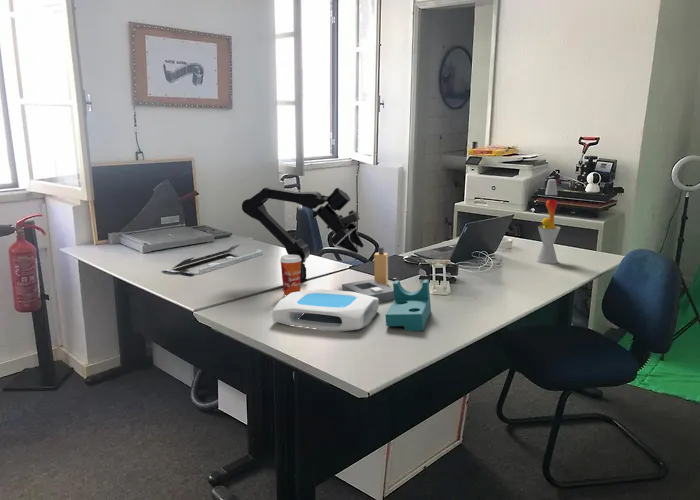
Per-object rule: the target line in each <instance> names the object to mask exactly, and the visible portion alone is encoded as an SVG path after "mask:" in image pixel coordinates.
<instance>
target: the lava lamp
mask: <svg viewBox="0 0 700 500" xmlns="http://www.w3.org/2000/svg"><path fill="white" fill-rule="evenodd" d="M544 195H545V196H558V186H557V180H556V179H554V178H553V179H552V178H551V179H550V178H549V179H548V180H547V184H546V188H545V194H544ZM545 202H546V203H545V206H546V208H547V211H548V217H543V219H542V220H541V225H538V226H537V228H538V229H537V230H538V232H539V236H540V239H541V243H542V245H541V248H540V251H539V252H538V255H537V258H536V260H535V261H536V262H537V263H539V264H545V265H554V264H558V259H557V253H556V250H555V245H554V244H555V242H556V239H557V236H558V235H559V232H560V230H561V226H560V225H559V226H558V225H555V212H556V209H557V205H558V203H557V201H556V200H555V199H553V198H552V199H551V198H549V199H548V200H546V201H545Z"/></svg>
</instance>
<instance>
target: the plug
mask: <svg viewBox="0 0 700 500" xmlns="http://www.w3.org/2000/svg"><path fill="white" fill-rule="evenodd" d="M384 250H385V249H384V247H383V246H379V247H378V252H375V253H374V256H373V260H374V265H373V267H374V268H373V269H374V270H373V271H374V276H373V277H374V279H373V280H375V281H377V282H379V283H382V284H384V285H386V286H388V284H389V253H388V252H384Z"/></svg>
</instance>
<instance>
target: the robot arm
mask: <svg viewBox="0 0 700 500" xmlns="http://www.w3.org/2000/svg"><path fill="white" fill-rule="evenodd" d="M270 199H271V200H276V201H277V200H278V201H283V202H284V201H285V202H288V203H294V204H298V205H300V206H302V207H304V208H307V209H310V210H312V219H313V220H314V219H317V217H318V218H320V220H322V222H323V223H324V224H325V225H326V229H327V230H329V229H330V231H332V232H333V233H334V235H333V236H332V237H331V243H332V244H333V245H334V246H337V247H340V248H342V249H346V250H348V251H350V252H352V253H355V254H357V253H358V252H359V249H358V248H357V247H360V248H363V247H364V246H365V245H364V243H363V241H362V240H361V238H360V236H359V233H358V228H359V227H358V226H359V225H358V224H357V223H356V222H358V221H359V220H360V217H359V215H360V214H359V213H358V212H357V211H355V210H354V209H352V210H350V211H349V212H348V214H347V215H345V216H343V215H342V214H338V213H337V212H336V211H342V209H344V207H345V206H346V205H347V204H348V203H349V202H350V201H351V197H350V196H349V194H347V193H346V192H344V190H342V189H340V188H339V187H336V188H334V190H333V191H332V193H330V195H329V196H328V195H323V194H321V192H319V191H304V192H303V191H293V190H287V189H282V188H277V187H276V188H275V187H271V186H267V187H266V186H265V187H263V188H262V189H261V190H260V191H259V192H258V193H256V194H255V195H253V196H252V197H250V198H247V199H245V200H243V201H242V203H241V210H242V211H243V213H244V214H246V216H249V217H250V218H251V219H254V220H257V221H258V222H259V223H260V224H261V225H262V226H264V228H265V229H267V230H268V232H269V233H271V235H272V236H274V238H275V239H276V240H278V241H279V243H280V244H281V245H282V246H284V248H285V251H286V253H287V255H299V256H300V257H301V259H302V260H301V274H300V282H305V281H308V278H307V267H306V263H305V262H306V260H307V259H308V258H309V256H310V253H311V251H310V248H309V245H308V244H307V243H305V242H304V240H303V239H302V238H298V239H295V238H294V237H293V236H292V235H290V233H288V231H286V229H284V228H283V227H282V226H281V224H280V223H278V221H276V220H275V219H274V218H273V216H272V215H270V213H269V212H268V211H267V208H266V206H265V203H267V201H269V200H270ZM324 204H325V205H324ZM316 208H318V209H316ZM313 209H316V210H313ZM267 230H266V231H267ZM356 246H357V247H356Z"/></svg>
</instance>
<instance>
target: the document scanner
mask: <svg viewBox="0 0 700 500" xmlns="http://www.w3.org/2000/svg"><path fill="white" fill-rule="evenodd" d="M378 311H379V302H378V298H376V297H372V296H368V295H364V294H360V293H356V292H350V291H342V290H335V289H324V288H320V289H317V288H316V289H311V290H300V291H299V292H292V293H290V294H289V295H287V296H284V297H283V298H281V299H280V300H279V301H278V302H277V304H276V305H275V306H274V308H273V309H272V320H273V322H276V323H279V324H283V325H285V324H286V325H285V326H288V325H294V326H302V327H309V328H316V329H315V330H317V329H322V330H321V331H326V330H329V331H328V332H335V333H338V332H339V333H341V332H342V333H343V332H348V331H349V332H350V331H356V330H360V329H363V328H366V327H367V326H368V325H369V324H370V323H371V322H372V320H373V319H374V318H375V316H376V314H377V312H378ZM303 313H305V314H314V315H315V314H316V315H324V316H333V317H338V318H340V320H341V323H337V322H324V321H323V322H322V321H314V320H313V321H312V320H308V319H301V317H302V316H303V315H302V314H303ZM301 315H302V316H301ZM300 316H301V317H300ZM299 317H300V318H299ZM298 318H299V319H298Z"/></svg>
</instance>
